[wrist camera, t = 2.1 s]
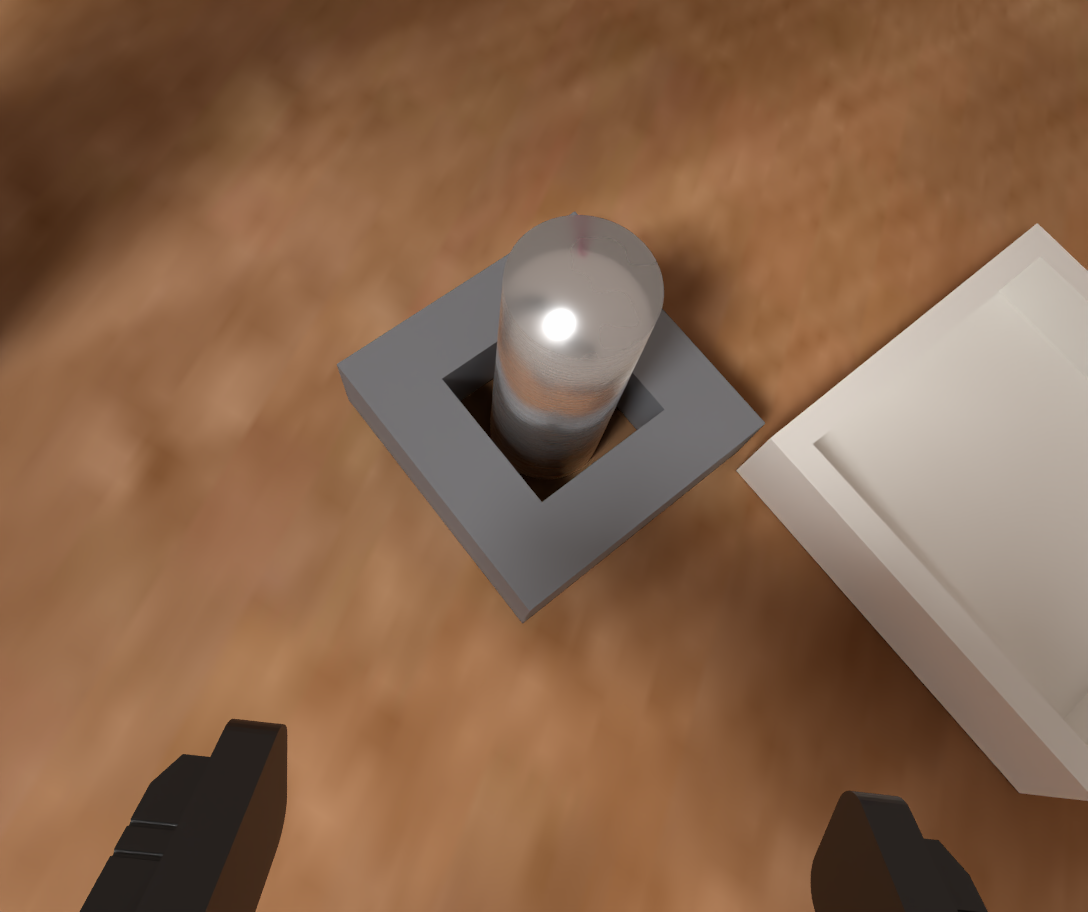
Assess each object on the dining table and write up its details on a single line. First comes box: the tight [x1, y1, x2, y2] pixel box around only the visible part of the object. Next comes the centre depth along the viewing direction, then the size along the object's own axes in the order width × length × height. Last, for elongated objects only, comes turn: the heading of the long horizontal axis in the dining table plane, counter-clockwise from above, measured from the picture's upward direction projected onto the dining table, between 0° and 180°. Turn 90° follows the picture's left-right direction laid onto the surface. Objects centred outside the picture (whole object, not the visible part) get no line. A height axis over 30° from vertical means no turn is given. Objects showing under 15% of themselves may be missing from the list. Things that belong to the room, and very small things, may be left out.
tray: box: [736, 223, 1088, 801], centre depth 29 cm, size 14×14×4 cm
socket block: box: [337, 212, 765, 623], centre depth 28 cm, size 10×10×3 cm
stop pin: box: [490, 215, 664, 480], centre depth 25 cm, size 4×4×10 cm
